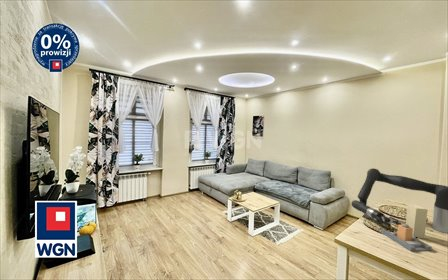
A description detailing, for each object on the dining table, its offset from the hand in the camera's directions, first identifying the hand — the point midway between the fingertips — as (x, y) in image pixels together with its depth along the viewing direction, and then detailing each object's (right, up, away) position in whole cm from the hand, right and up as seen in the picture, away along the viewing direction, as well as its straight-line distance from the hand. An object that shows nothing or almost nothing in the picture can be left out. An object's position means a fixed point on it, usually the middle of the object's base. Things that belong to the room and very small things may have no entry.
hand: (395, 225), depth 128 cm
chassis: (0, -8, -6) cm, 10 cm away
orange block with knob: (0, -8, -6) cm, 10 cm away
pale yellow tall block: (+16, -8, +2) cm, 18 cm away
